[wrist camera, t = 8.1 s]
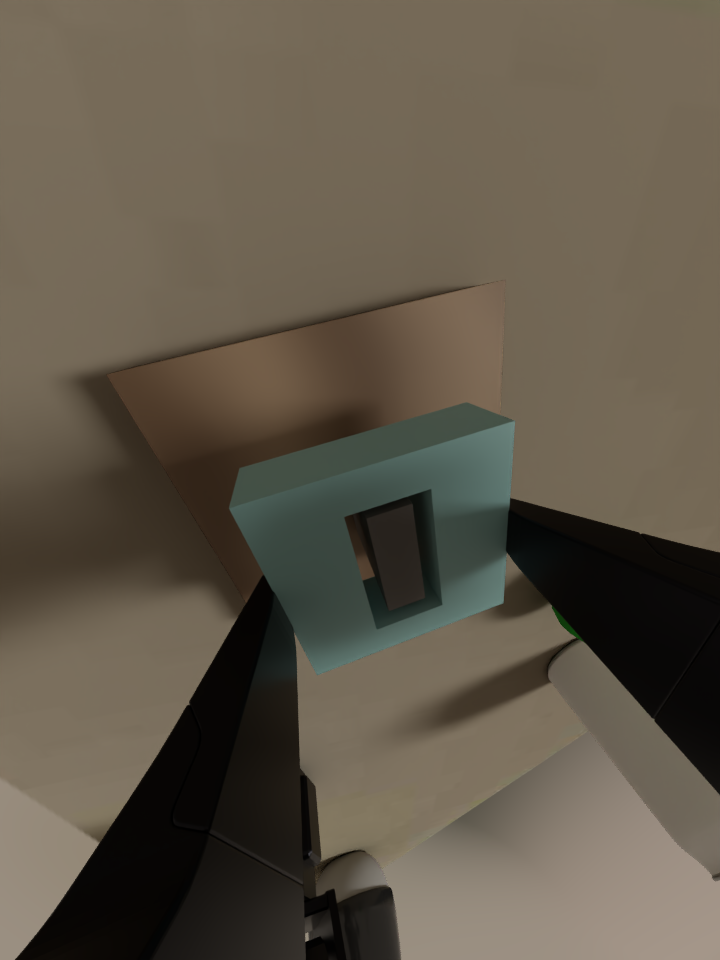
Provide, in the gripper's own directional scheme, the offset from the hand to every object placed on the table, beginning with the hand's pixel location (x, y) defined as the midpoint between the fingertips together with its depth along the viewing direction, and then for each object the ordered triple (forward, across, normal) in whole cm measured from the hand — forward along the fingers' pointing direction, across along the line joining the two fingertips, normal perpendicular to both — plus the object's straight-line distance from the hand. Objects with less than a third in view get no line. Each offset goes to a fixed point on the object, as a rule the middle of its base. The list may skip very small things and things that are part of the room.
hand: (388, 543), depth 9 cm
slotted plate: (+1, 0, 0) cm, 1 cm away
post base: (+5, 0, 0) cm, 5 cm away
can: (+5, -16, +25) cm, 30 cm away
